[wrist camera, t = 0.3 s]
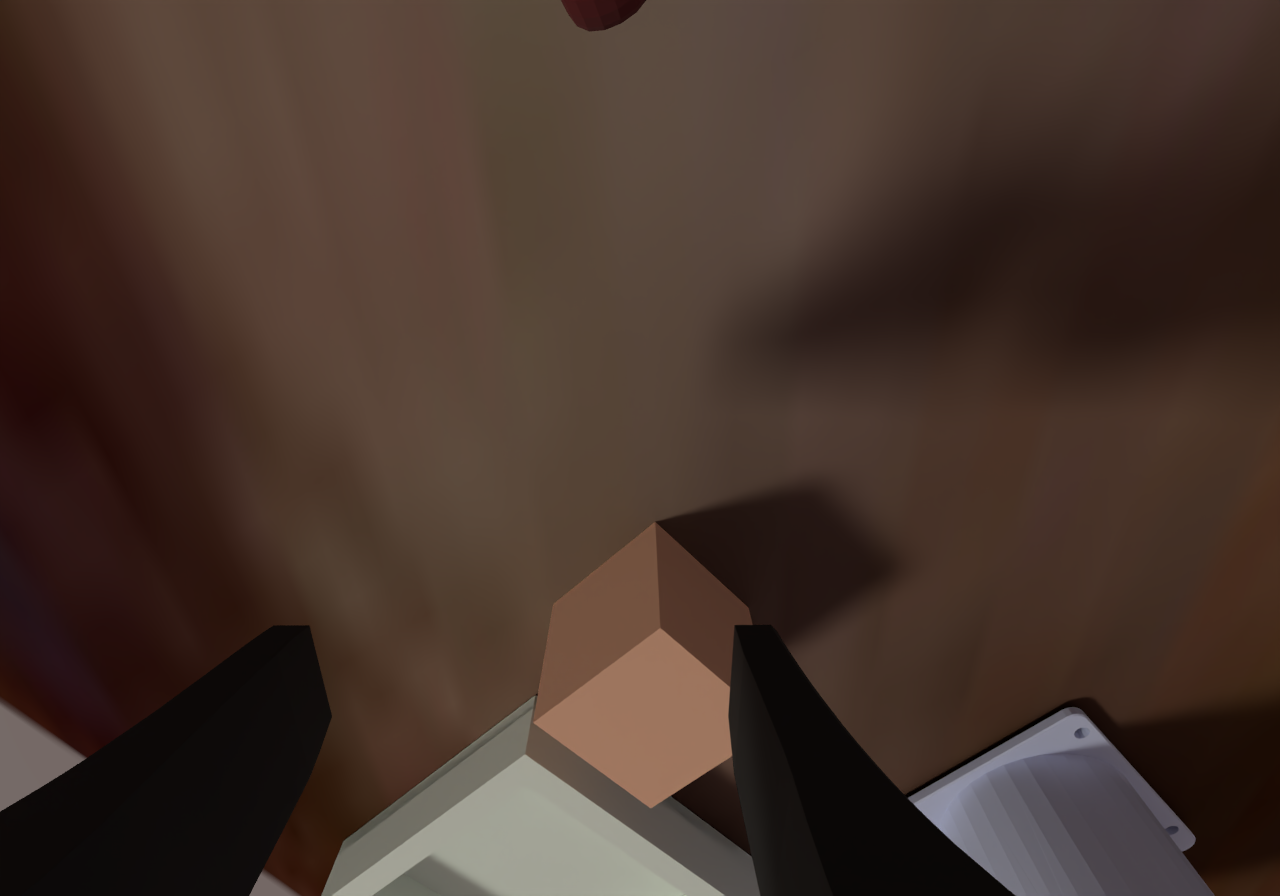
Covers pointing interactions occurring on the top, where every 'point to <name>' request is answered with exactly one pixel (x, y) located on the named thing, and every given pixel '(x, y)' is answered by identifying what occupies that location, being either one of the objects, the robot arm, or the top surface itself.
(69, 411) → the top surface
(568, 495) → the top surface
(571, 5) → the mug
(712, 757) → the block
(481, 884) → the tray
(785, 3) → the top surface
